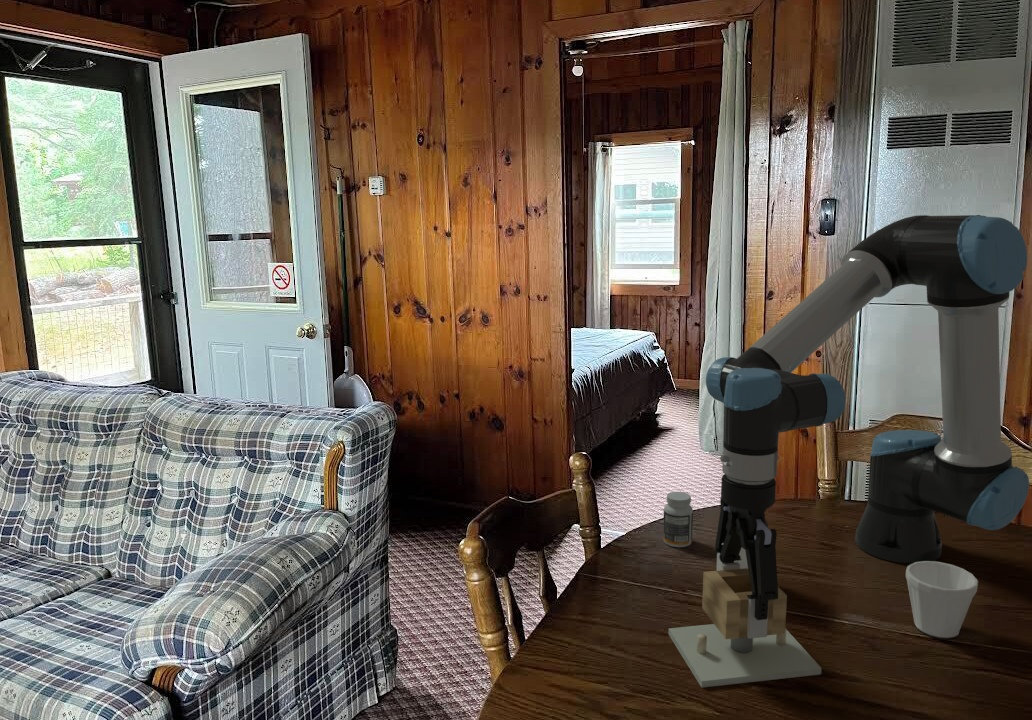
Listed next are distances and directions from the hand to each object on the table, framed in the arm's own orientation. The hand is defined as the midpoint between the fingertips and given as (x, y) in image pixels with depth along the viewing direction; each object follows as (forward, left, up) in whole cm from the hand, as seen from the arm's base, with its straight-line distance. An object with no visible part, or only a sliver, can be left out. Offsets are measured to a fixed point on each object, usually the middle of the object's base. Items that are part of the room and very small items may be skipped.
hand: (742, 618), depth 117 cm
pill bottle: (-4, -39, -6) cm, 40 cm away
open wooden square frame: (0, 0, 0) cm, 0 cm away
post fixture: (0, 0, -6) cm, 6 cm away
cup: (-33, -1, -6) cm, 34 cm away
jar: (-9, -20, -6) cm, 23 cm away
